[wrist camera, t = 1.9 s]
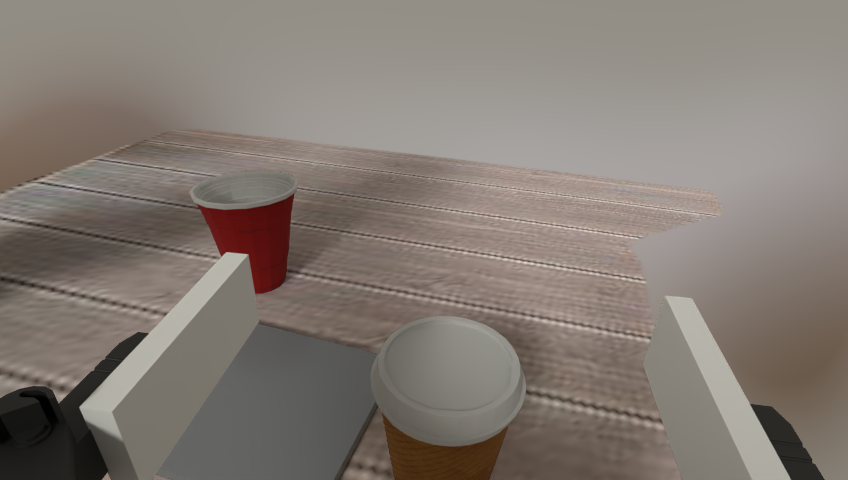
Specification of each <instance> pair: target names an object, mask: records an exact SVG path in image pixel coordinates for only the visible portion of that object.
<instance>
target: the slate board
mask: <svg viewBox="0 0 848 480" xmlns="http://www.w3.org/2000/svg"><path fill="white" fill-rule="evenodd" d="M377 355H378V354H376V353H372V352H368V351H364V350H360V349H356V348H352V347H348V346H344V345H340V344H337V343H333V342H329V341H325V340H321V339H317V338H313V337H309V336H305V335H301V334H297V333H293V332H290V331H286V330H282V329H278V328H274V327H270V326H266V325H262V324H257V325H256V327H255V328H254V330H253V331H252V333H251V334H250V336H249V337H248V339H247V340H246V342H245V343H244V345H243V346H242V348H241V349H240V351H239V352H238V354H237V355H236V356H235V358H234V359H233V361H232V362H231V364H230V365H229V367H228V368H227V370H226V371H225V373H224V374H223V376H222V377H221V379H220V380H219V382H218V383H217V385H216V386H215V388H214V389H213V390H212V392H211V393H210V395H209V396H208V398H207V399H206V401H205V402H204V404H203V405H202V407H201V408H200V410H199V411H198V413H197V414H196V416H195V417H194V419H193V420H192V421H191V423H190V424H189V426H188V427H187V429H186V430H185V432H184V433H183V435H182V436H181V438H180V439H179V441H178V442H177V444H176V445H175V447H174V448H173V450H172V451H171V453H170V454H169V455H168V457H167V458H166V460H165V461H164V463H163V464H162V466H161V467H160V469H159V470H158V472H157V473H156V474H157V475H159V476H162V477H165V478H168V479H170V480H339V479H340V477H341V475H342V473H343V471H344V470H345V468H346V466H347V464H348V462H349V460H350V458H351V456H352V454H353V452H354V450H355V449H356V447H357V445H358V443H359V441H360V439H361V437H362V435H363V433H364V431H365V429H366V427H367V426H368V424H369V422H370V420H371V418H372V416H373V414H374V412H375V410H376V408H377V406H378V405H377V404H376V401H375V398H374V396H373V393H372V390H371V380H370V374H371V369H372V365H373V363H374V361H375V359H376V357H377Z"/></svg>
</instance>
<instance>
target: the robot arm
mask: <svg viewBox="0 0 848 480" xmlns="http://www.w3.org/2000/svg"><path fill="white" fill-rule="evenodd" d="M259 321H260V320H259V314H258V308H257V302H256V296H255V290H254V285H253V279H252V273H251V267H250V261H249V255H248V254H240V253H230V252H226V253H225V254H224V255H223V256H222V257H221V258H220V259H219V260H218V261H217V262H216V263H215V265H214V266H213V267H212V268H211V269H210V270H209V271H208V272H207V273H206V274H205V275H204V276H203V277H202V278H201V279H200V280H199V281H198V282H197V284H196V285H195V286H194V287H193V288H192V289H191V290H190V291H189V292H188V293H187V294H186V295H185V296H184V297H183V298H182V299H181V300H180V301H179V303H178V304H177V305H176V306H175V307H174V308H173V309H172V310H171V311H170V312H169V313H168V314H167V315H166V316H165V317H164V318H163V319H162V320H161V321H160V323H159V324H158V325H157V326H156V327H155V328H154V329H153V330H152V331H151V332H150V333H142V332H138V333H136V334H134V335H133V336H131V337H129V338H128V339H126V340H124V341H122V342H121V343H119V344H118V345H117V346H116V347H115V348H114V349H113V350H112V351H111V352H110V353H109V354H108V355H107V356H106V359H105V360H102V361H101V362H100V363H99V364H98V365H97V366H96V367H95V369H94V371H91V372H90V373H89V374H88V375H87V376H86V377H85V378H84V379H83V380H82V381H81V382H80V383H79V384H78V385H77V386H76V387H75V388H74V389H73V390H72V391H71V392H70V393H69V394H68V395H67V396H66V397H65V398H64V399H63V400H62V401H61V402H60V403H59V404H58V401H57V399H56V397H55V395H54V393H53V391H52V390H51V389H49V388H47V387H43V386H32V387H27V388H22V389H19V390H16V391H14V392H11V393H9V394H7V395H5V396H3V397H2V398H0V480H102V479H103V477H104V476H105V475H106V473H107V472H108V474H109V476H110V479H111V480H152V479H153V478H154V476H155V475H156V473H157V472H158V470H159V469H160V467H161V466H162V464H163V463H164V461H165V460H166V458H167V457H168V455H169V454H170V453H171V451H172V450H173V448H174V447H175V445H176V444H177V442H178V441H179V439H180V438H181V436H182V435H183V433H184V432H185V430H186V429H187V427H188V426H189V424H190V423H191V421H192V420H193V419H194V417H195V416H196V414H197V413H198V411H199V410H200V408H201V407H202V405H203V404H204V402H205V401H206V399H207V398H208V396H209V395H210V393H211V392H212V390H213V389H214V388H215V386H216V385H217V383H218V382H219V380H220V379H221V377H222V376H223V374H224V373H225V371H226V370H227V368H228V367H229V365H230V364H231V362H232V361H233V359H234V358H235V356H236V355H237V354H238V352H239V351H240V349H241V348H242V346H243V345H244V343H245V342H246V340H247V339H248V337H249V336H250V334H251V333H252V331H253V330H254V328H255V327H256V325H257V324H258V323H259ZM643 366H644V369H645V372H646V375H647V378H648V381H649V384H650V387H651V390H652V393H653V396H654V399H655V402H656V405H657V407H658V410H659V413H660V416H661V419H662V422H663V425H664V428H665V431H666V434H667V437H668V440H669V443H670V446H671V449H672V452H673V455H674V458H675V461H676V464H677V467H678V470H679V472H680V475H681V478H682V480H824V478H823V476H822V475H821V473H820V472H819V470H818V468H817V467H816V465H815V464H813V463H812V458H811V457H810V455H809V454H808V452H807V450H806V449H805V448H803V446H802V442H801V441H800V439H799V437H798V436H797V434H796V432H795V431H794V429H793V427H792V426H791V424H790V423H789V422H787V421H786V420H785V419H784V418H783V417H782V416H781V415H780V414H779V413H778V412H777V411H776V410H775V409H773V408H772V407H770V406H762V405H753V404H749V402H748V400H747V398H746V396H745V395H744V393H743V391H742V389H741V387H740V385H739V384H738V382H737V380H736V378H735V376H734V375H733V373H732V371H731V369H730V368H729V365H728V364H727V362H726V360H725V358H724V356H723V354H722V353H721V351H720V349H719V347H718V345H717V343H716V342H715V340H714V338H713V336H712V335H711V332H710V331H709V329H708V327H707V325H706V323H705V322H704V320H703V318H702V316H701V314H700V312H699V311H698V309H697V307H696V305H695V303H694V302H693V300H692V298H684V297H673V296H665V298H664V301H663V303H662V307H661V310H660V313H659V316H658V319H657V322H656V325H655V328H654V332H653V335H652V338H651V341H650V344H649V347H648V350H647V353H646V356H645V360H644V363H643Z"/></svg>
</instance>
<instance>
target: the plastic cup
mask: <svg viewBox="0 0 848 480" xmlns="http://www.w3.org/2000/svg"><path fill="white" fill-rule="evenodd" d="M298 182H299V181H298V180H297V179H296V178H295V177H294V176H292V175H288V174H285V173H282V172H274V171H243V172H236V173H229V174H223V175H220V176H216V177H212V178H209V179H206V180H204V181H202V182H200V183H198V184H196V185H194V187H193V188H192V189H191V190H190V191H189V193H190V196H191V198H192V200H193V202H194V203H196V204H197V205H198V206H199V208H200V210H201V212H202V214H203V215H204V218H205V220H206V222H207V224H208V225H209V227H210V230H211V232H212V235H213V237H214V240H215V242H216V245H217V247H218V249H219V252H220V254H221V257H222V256H223V255H224V254H225V253H226V252H230V253H240V254H248V255H249V261H250V267H251V273H252V279H253V285H254V290H255V294H256V293H264V292H268V291H272V290H273V289H275V288H277V287H279V286H280V285H281V284H282V283H283V282H284V280H285V276H286V271H287V256H288V251H289V237H290V223H291V211H292V205H293V199H294V193H295V192H296V190H297V186H298Z"/></svg>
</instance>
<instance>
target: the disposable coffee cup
mask: <svg viewBox="0 0 848 480" xmlns="http://www.w3.org/2000/svg"><path fill="white" fill-rule="evenodd" d="M370 380H371V390H372V393H373V396H374V398H375V401H376V404H377V405H378V407H379V408H380V410H381V411H382V416H383V422H384V425H385V431H386V436H387V442H388V447H389V453H390V456H391V458H390V459H391V462H392V467H393V472H394V478H395V480H489V478H490V476H491V473H492V470H493V467H494V465H495V462H496V459H497V456H498V453H499V451H500V448H501V445H502V442H503V440H504V437H505V434H506V431H507V429H508V425H509V423H510V422H511V421H512V420H513V419H514V418H515V417H516V416H517V415H518V413H519V411H520V409H521V407H522V404H523V402H524V399H525V393H526V381H525V376H524V372H523V370H522V368H521V366H520V362H519V359H518V356H517V354H516V352H515V350H514V348H513V347H512V346H511V344H510V343H509V342H508V341H507V339H506V338H504V337H503V336H502V335H501V334H499V333H498V332H497V331H495V330H494V329H492V328H490V327H488V326H486V325H485V324H482V323H479V322H476V321H474V320H471V319H466V318H462V317H455V316H434V317H426V318H422V319H418V320H415V321H412V322H409V323H407V324H405V325H403V326H401V327H400V328H399V329H397V330H396V331H394V332H393V333H392V334H391V335H390V336H389V337H388V338H387V340H386V341H385V342H384V344H383V345H382V348H381V350H380V353H379V354H378V355H377V357H376V359H375V361H374V363H373V365H372V369H371V374H370Z"/></svg>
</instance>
